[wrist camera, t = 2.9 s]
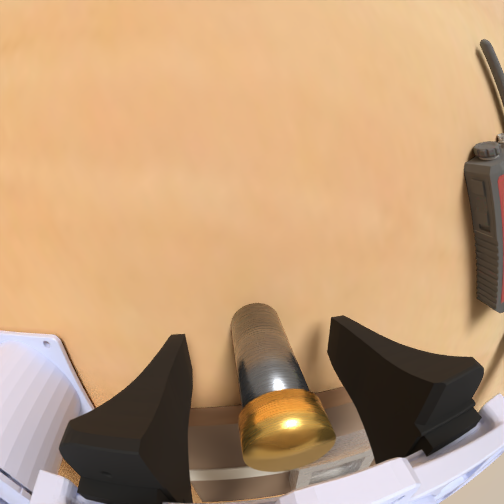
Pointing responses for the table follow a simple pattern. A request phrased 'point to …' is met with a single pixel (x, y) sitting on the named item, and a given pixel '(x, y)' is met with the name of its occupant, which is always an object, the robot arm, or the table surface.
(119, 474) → the robot arm
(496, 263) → the walkie-talkie
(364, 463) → the pilot socket
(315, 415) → the gold-capped cylinder
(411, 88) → the table surface
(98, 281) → the table surface
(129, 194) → the table surface
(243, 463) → the board
